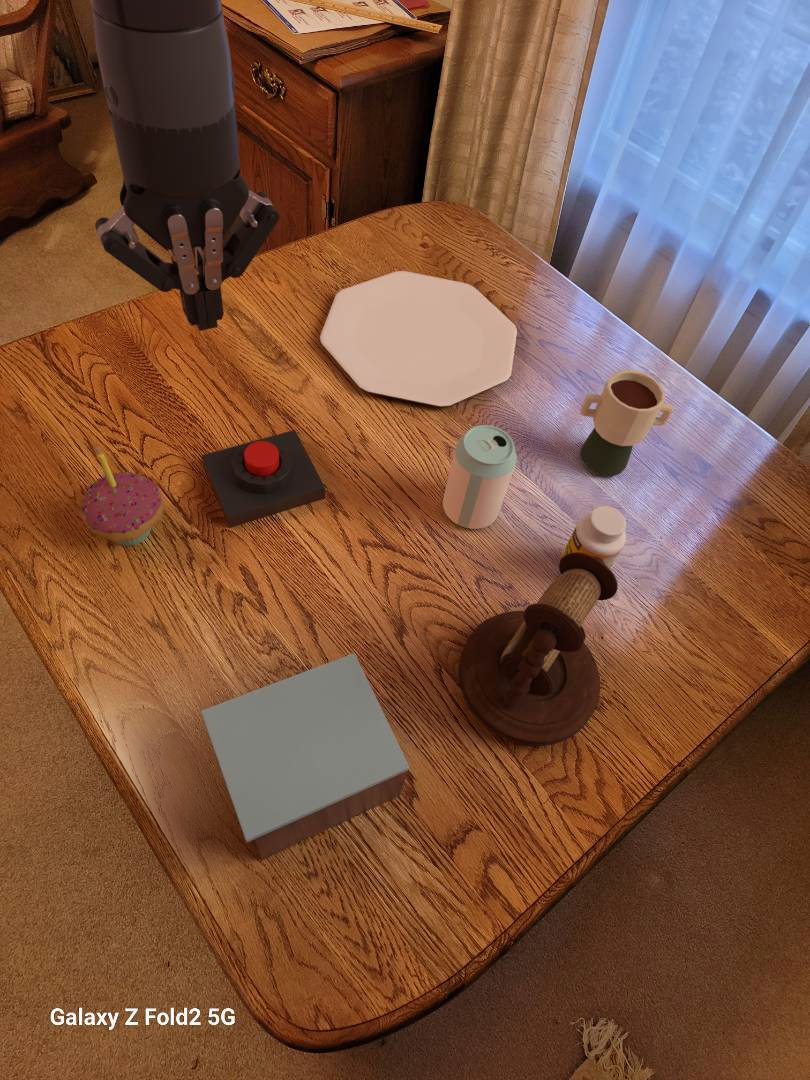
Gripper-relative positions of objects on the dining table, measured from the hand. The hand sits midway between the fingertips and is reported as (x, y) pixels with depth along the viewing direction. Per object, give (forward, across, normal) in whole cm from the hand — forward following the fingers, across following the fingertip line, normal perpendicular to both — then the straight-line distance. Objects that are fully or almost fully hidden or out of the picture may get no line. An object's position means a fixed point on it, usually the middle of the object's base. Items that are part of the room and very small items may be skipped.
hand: (204, 322), depth 59 cm
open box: (+32, +2, +27) cm, 42 cm away
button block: (+32, -6, -8) cm, 34 cm away
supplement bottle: (+32, -36, +18) cm, 52 cm away
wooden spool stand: (+32, -22, +28) cm, 48 cm away
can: (+32, -28, +5) cm, 43 cm away
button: (+28, -6, -8) cm, 30 cm away
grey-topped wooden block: (+24, +2, +27) cm, 36 cm away
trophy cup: (+32, -48, +5) cm, 58 cm away
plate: (+32, -36, -25) cm, 54 cm away
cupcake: (+32, +10, -7) cm, 35 cm away
